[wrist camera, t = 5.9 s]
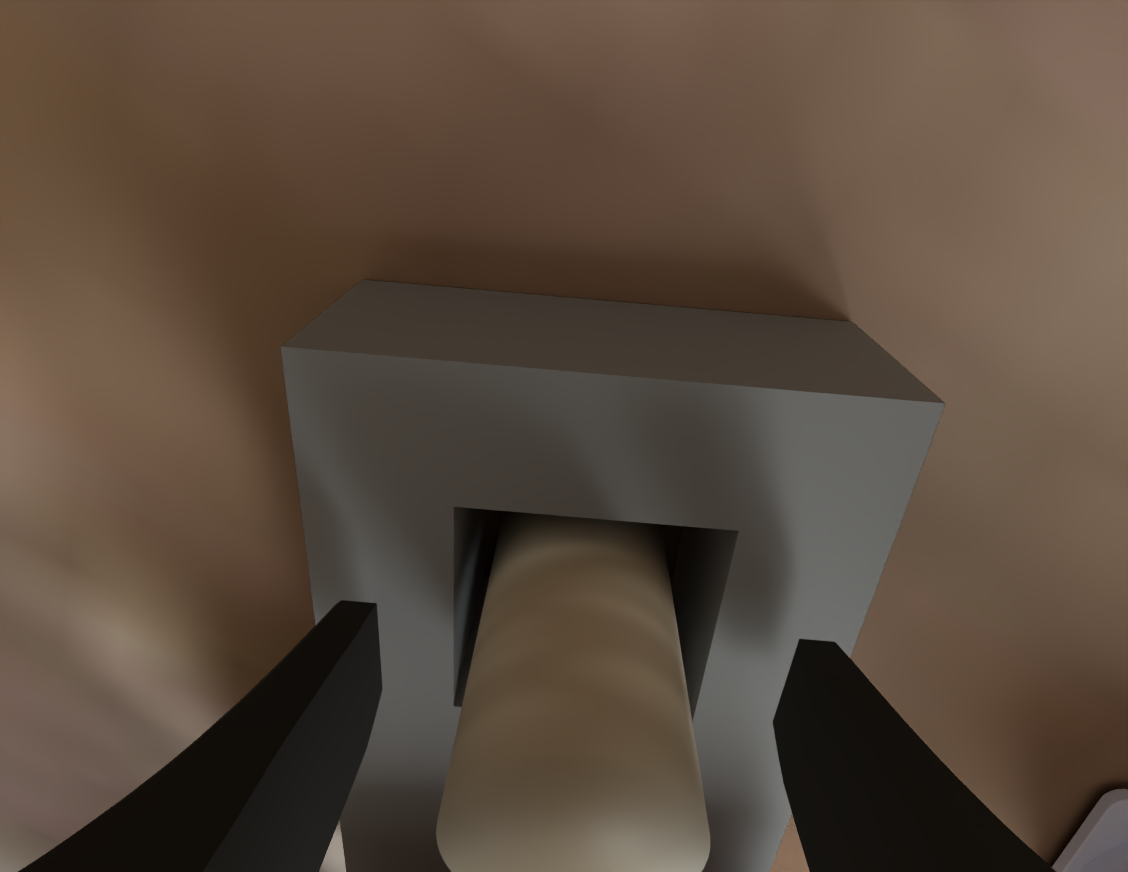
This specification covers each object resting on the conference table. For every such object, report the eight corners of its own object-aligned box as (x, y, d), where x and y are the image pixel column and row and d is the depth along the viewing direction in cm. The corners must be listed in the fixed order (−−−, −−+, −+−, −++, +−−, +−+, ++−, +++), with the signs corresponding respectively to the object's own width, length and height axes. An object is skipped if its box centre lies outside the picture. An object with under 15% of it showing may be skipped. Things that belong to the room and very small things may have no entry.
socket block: (852, 321, 14) (945, 404, 10) (723, 771, 20) (751, 918, 16) (362, 279, 13) (280, 346, 10) (391, 743, 20) (348, 884, 16)
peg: (669, 450, 15) (736, 769, 8) (645, 575, 17) (684, 932, 10) (510, 434, 15) (436, 740, 8) (502, 561, 17) (435, 909, 10)
